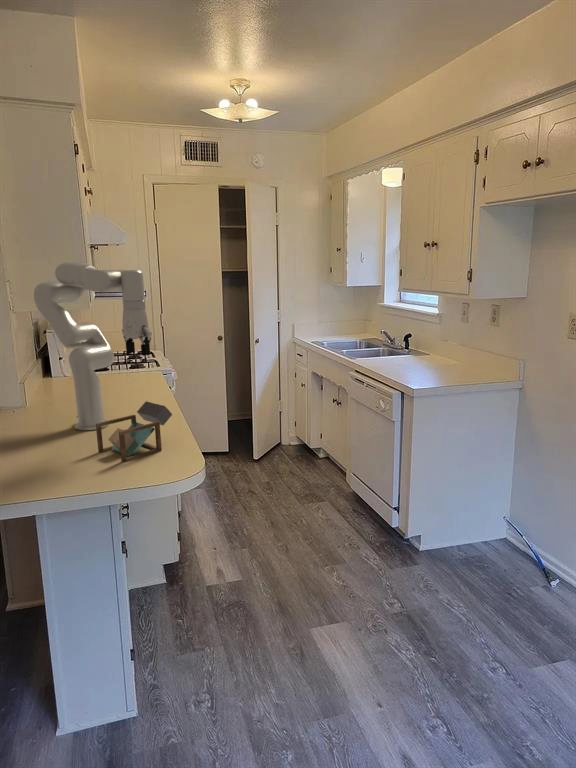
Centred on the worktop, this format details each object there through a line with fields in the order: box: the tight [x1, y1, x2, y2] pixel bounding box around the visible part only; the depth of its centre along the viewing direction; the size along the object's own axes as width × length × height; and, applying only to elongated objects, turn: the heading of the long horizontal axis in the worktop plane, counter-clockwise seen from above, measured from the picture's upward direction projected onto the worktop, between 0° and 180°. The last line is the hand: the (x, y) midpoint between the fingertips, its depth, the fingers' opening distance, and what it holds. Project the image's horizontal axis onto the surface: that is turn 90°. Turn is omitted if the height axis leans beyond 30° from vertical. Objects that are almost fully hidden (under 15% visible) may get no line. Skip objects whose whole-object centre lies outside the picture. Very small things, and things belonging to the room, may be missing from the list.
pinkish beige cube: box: [107, 427, 135, 450], centre depth 184 cm, size 5×5×5 cm
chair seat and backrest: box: [111, 400, 173, 457], centre depth 188 cm, size 12×20×4 cm
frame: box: [96, 414, 163, 463], centre depth 185 cm, size 16×14×10 cm
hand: (138, 354), depth 198 cm, fingers open, 9 cm apart
